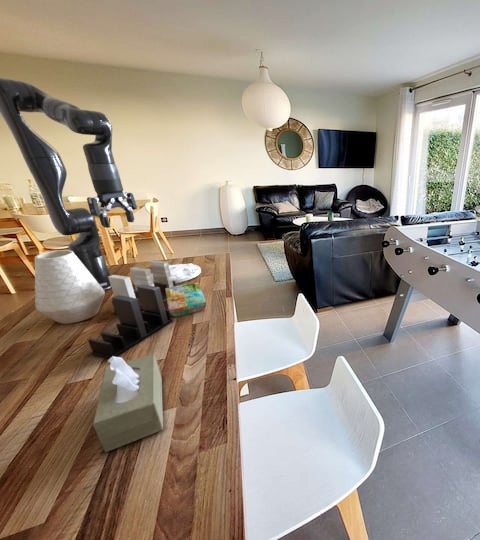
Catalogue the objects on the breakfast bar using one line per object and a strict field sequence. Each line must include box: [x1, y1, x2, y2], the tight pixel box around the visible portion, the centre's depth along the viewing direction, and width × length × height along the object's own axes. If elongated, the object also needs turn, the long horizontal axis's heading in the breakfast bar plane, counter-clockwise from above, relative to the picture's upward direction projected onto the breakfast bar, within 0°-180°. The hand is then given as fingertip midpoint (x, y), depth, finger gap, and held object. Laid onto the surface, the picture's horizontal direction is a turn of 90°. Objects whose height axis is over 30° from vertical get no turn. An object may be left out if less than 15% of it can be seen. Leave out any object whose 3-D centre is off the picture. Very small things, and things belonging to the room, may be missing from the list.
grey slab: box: [111, 259, 177, 315], centre depth 109 cm, size 21×8×14 cm, turn 166°
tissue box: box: [92, 353, 164, 453], centre depth 64 cm, size 19×10×16 cm, turn 33°
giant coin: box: [151, 262, 202, 285], centre depth 134 cm, size 20×20×3 cm
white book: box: [108, 274, 136, 298], centre depth 102 cm, size 2×7×13 cm, turn 76°
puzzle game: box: [165, 281, 207, 318], centre depth 111 cm, size 12×5×20 cm
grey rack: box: [87, 284, 174, 360], centre depth 89 cm, size 21×8×14 cm, turn 166°
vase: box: [34, 249, 106, 325], centre depth 97 cm, size 18×17×23 cm
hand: (119, 224), depth 102 cm, fingers open, 8 cm apart
